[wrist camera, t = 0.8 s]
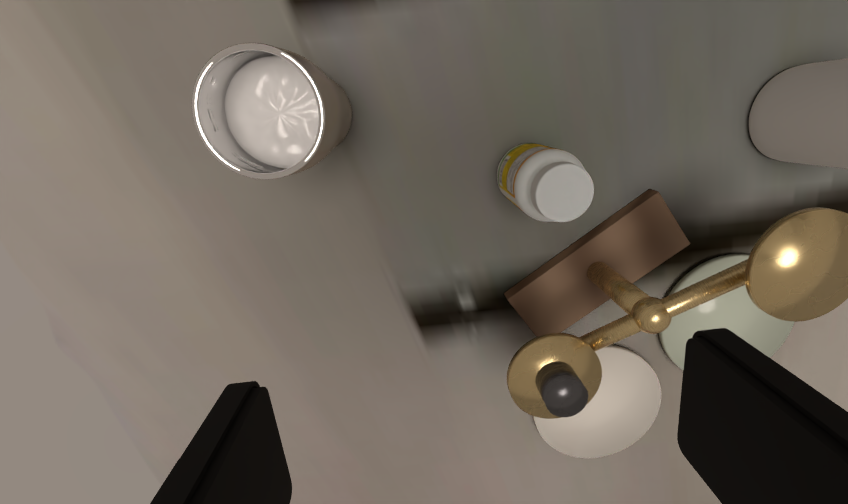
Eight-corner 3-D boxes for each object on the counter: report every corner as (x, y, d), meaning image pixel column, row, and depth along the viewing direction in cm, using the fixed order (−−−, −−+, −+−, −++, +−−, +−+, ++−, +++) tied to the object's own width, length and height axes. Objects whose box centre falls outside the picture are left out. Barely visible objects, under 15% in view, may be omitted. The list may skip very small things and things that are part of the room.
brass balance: (682, 158, 39) (844, 184, 25) (717, 219, 41) (887, 276, 26) (469, 312, 42) (503, 412, 28) (510, 361, 44) (561, 479, 30)
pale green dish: (751, 224, 41) (763, 228, 40) (805, 322, 44) (818, 329, 43) (631, 305, 43) (638, 311, 42) (692, 393, 46) (700, 401, 45)
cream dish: (614, 317, 43) (620, 324, 42) (675, 404, 47) (683, 412, 45) (505, 390, 45) (508, 399, 44) (572, 468, 49) (577, 478, 47)
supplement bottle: (485, 161, 38) (511, 177, 29) (541, 130, 38) (586, 136, 28) (512, 215, 40) (545, 245, 31) (566, 185, 39) (616, 207, 30)
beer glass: (353, 162, 38) (323, 192, 23) (270, 150, 37) (187, 173, 23) (362, 75, 36) (335, 50, 21) (274, 61, 35) (185, 25, 21)
